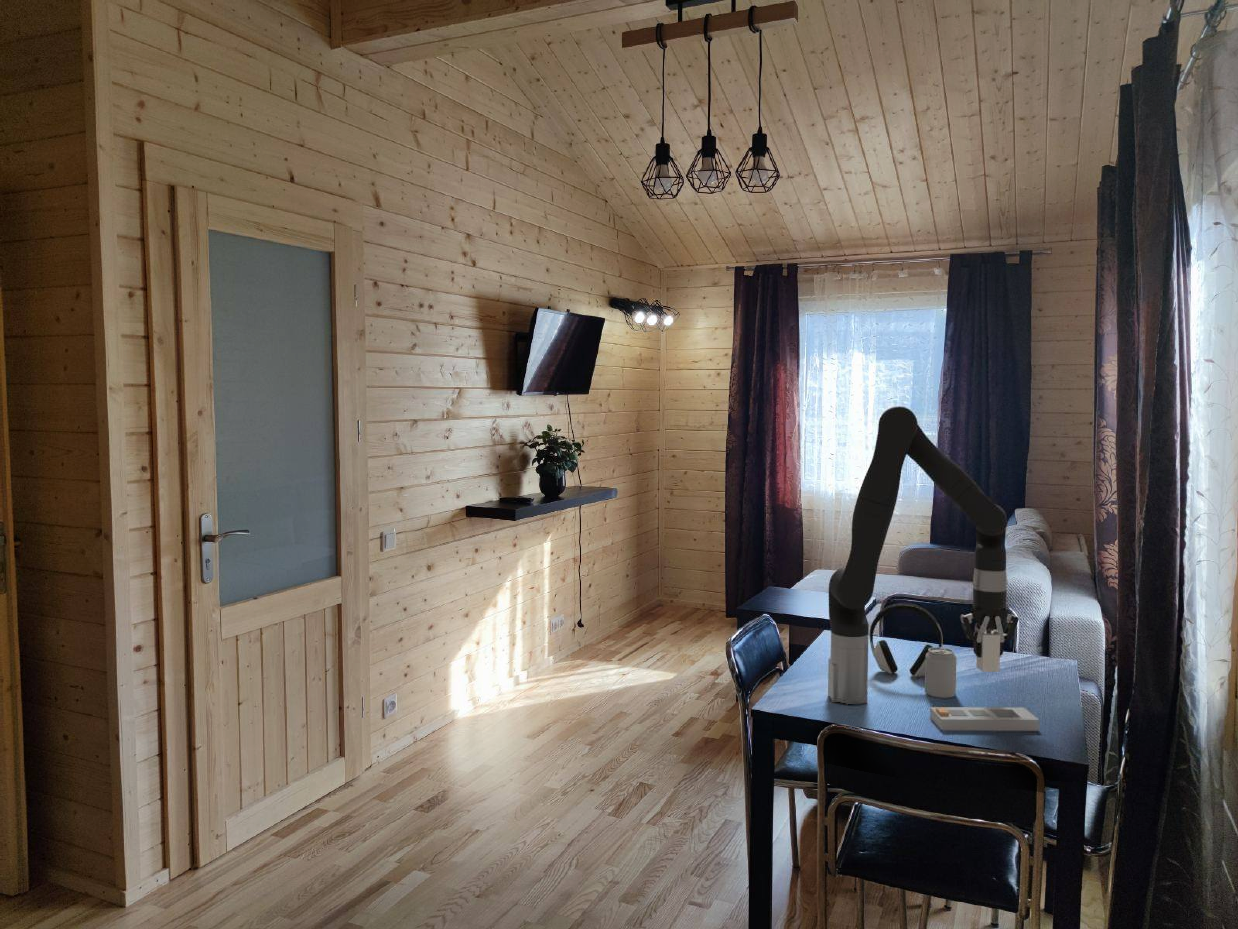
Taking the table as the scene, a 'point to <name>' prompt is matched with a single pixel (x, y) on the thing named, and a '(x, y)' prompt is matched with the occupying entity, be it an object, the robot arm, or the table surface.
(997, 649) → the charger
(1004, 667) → the table surface
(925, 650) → the headphones
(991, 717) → the power strip
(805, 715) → the table surface
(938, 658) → the can
